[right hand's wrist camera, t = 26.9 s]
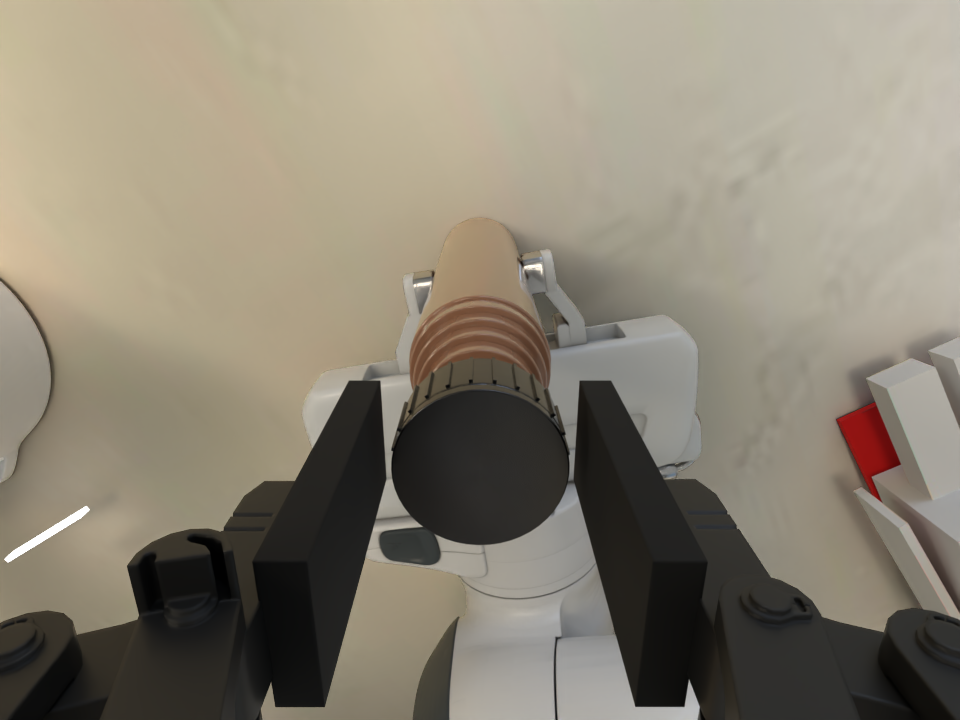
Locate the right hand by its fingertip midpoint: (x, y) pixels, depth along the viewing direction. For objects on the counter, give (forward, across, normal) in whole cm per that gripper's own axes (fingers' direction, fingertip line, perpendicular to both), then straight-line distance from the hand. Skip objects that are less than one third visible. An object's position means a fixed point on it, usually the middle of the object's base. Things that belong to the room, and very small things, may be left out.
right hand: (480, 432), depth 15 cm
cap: (-2, 0, 0) cm, 2 cm away
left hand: (+16, 0, +1) cm, 16 cm away
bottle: (+23, 0, 0) cm, 23 cm away
